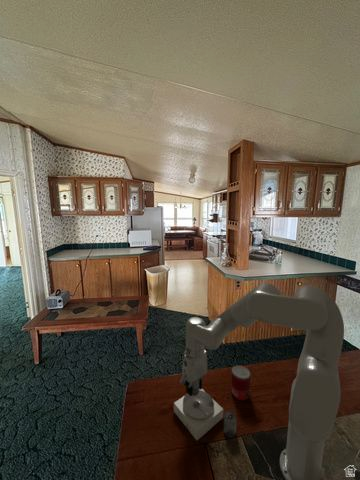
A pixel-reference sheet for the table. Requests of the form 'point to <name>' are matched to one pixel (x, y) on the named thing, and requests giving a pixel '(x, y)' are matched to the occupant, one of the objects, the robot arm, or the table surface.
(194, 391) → the spacer
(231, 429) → the spacer
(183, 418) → the scale
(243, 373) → the canned food
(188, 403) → the pan
